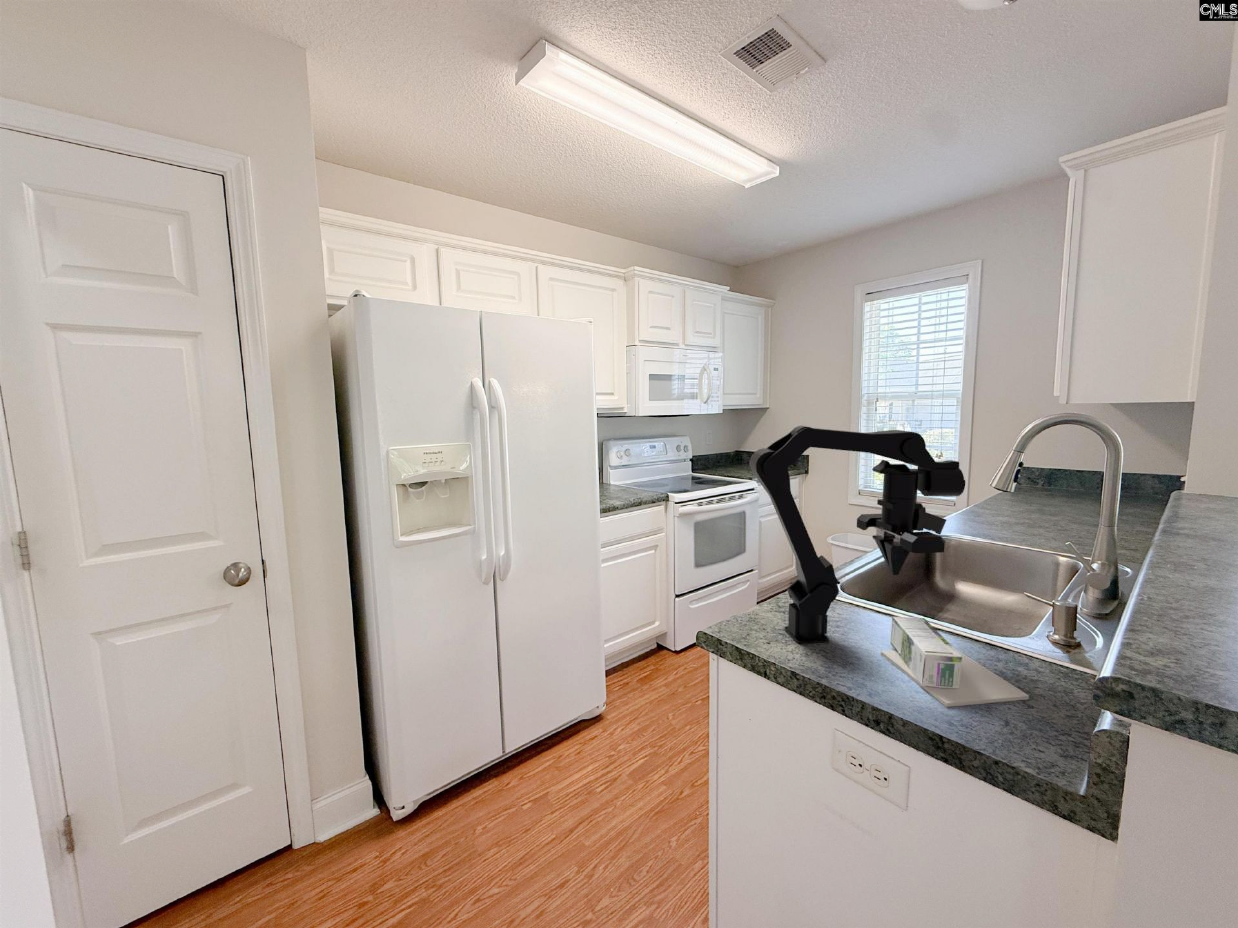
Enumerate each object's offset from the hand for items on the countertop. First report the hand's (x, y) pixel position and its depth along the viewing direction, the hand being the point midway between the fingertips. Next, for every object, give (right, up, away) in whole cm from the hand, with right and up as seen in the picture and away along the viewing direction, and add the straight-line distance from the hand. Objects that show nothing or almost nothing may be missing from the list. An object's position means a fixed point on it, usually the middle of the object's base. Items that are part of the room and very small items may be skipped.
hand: (894, 574), depth 97 cm
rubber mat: (+3, -15, -12) cm, 19 cm away
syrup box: (0, -10, -3) cm, 10 cm away
